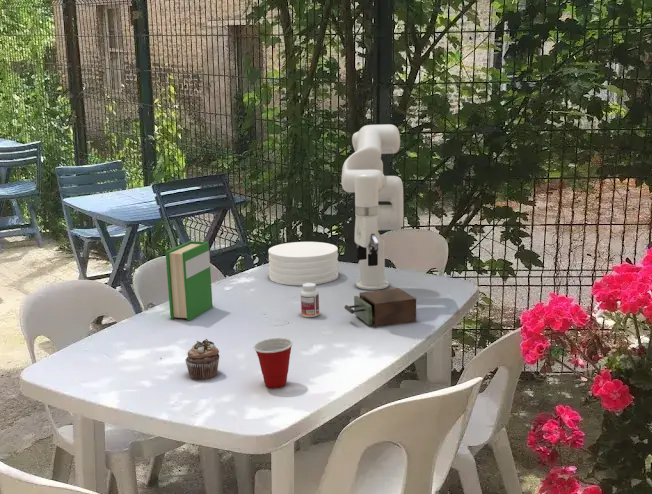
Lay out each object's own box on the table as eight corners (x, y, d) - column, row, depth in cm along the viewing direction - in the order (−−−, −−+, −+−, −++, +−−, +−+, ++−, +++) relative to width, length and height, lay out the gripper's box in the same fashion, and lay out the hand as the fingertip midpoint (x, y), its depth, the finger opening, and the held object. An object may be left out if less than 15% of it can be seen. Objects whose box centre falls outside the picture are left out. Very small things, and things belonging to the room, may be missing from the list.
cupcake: (206, 366, 251) (203, 333, 248) (227, 374, 244) (225, 340, 242) (179, 375, 245) (177, 341, 242) (200, 383, 238) (198, 349, 235)
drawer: (354, 326, 280) (354, 308, 279) (340, 315, 293) (340, 297, 291) (406, 320, 285) (406, 301, 284) (390, 309, 298) (390, 291, 296)
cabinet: (375, 327, 282) (375, 303, 280) (359, 315, 295) (359, 292, 293) (416, 322, 286) (416, 298, 284) (398, 310, 299) (398, 288, 297)
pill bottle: (311, 311, 301) (310, 281, 298) (322, 315, 297) (322, 284, 294) (297, 315, 298) (296, 284, 295) (309, 318, 293) (308, 287, 290)
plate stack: (258, 282, 342) (256, 254, 339) (285, 266, 367) (284, 240, 364) (323, 287, 331) (323, 258, 328) (347, 270, 356) (347, 243, 353)
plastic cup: (254, 378, 240) (252, 337, 237) (292, 376, 241) (291, 335, 238) (255, 393, 230) (253, 350, 227) (295, 390, 231) (294, 348, 227)
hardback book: (189, 320, 295) (184, 252, 288) (170, 319, 297) (165, 251, 291) (212, 306, 311) (208, 242, 304) (194, 305, 313) (190, 241, 307)
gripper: (346, 208, 285) (347, 258, 289) (365, 216, 269) (366, 269, 273) (367, 206, 287) (368, 256, 291) (387, 214, 271) (388, 267, 275)
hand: (367, 262), depth 282 cm, fingers open, 9 cm apart
